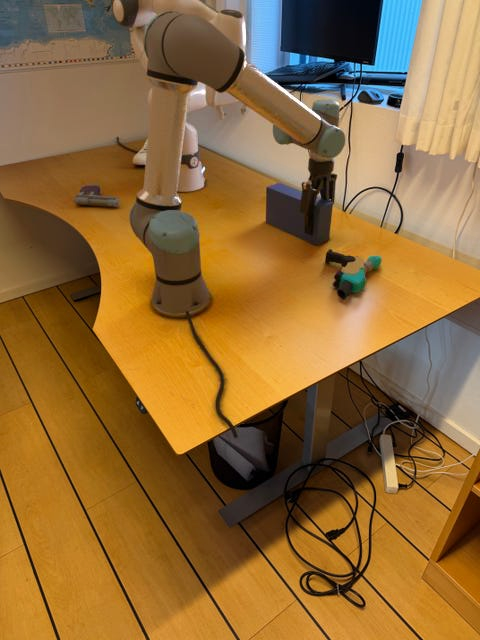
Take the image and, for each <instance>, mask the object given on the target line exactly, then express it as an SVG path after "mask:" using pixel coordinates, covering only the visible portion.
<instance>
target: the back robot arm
mask: <svg viewBox="0 0 480 640" xmlns="http://www.w3.org/2000/svg"><path fill="white" fill-rule="evenodd" d="M111 6H112V7H111V8H112V9H111V10H112V14H113V17H114V19H115V21H116V22H117V23H118V25H120V26H121V27H125V28H134V29H133V30H132V32H131V34H130V44H131V46H132V49H133V51H134V53H135V56H136V58H137V59H138V62H139V63H140V65H141V66H142V67H143V69H144V71H145V72H146V73H147V65H148V58H147V56H146V54H145V51H144V46H143V36H144V31H145V29H146V26H147V25H148V23H149V22H150V20H151V19H152V18H154V17H155V16H156V15H158V14H160V13H164V12H169V11H174V12H179V13H184V14H193V15H197V16H200V17H202V18H204V19H205V20H207V21H208V22H210V23H211V24H212V25H214V26H215V27H216V28H217V29H218V30H220V31H221V32H222V33H223V34H224V35H225V36H227V37H228V38H229V39H230V40H231V41H232V42H234V43H235V44H236V45H237V46H238V47H240V48H241V49H242V50H243V51H244V53H245V54H246V49H247V46H248V43H249V31H248V28H247V26H246V20H245V16H244V14H243V13H242V12H241V11H238V10H236V9H229V8H227V9H221V10H219V11H218V10H217V9H215V8H214V7H212V6H210V5H209V4H207V3H205V2H203V1H201V0H112V3H111ZM245 59H246V60H247V56H246V55H245ZM151 98H152V88H150V89H149V91H148V94H147V105H148V108H149V110H150V109H151ZM235 103H241V102H240V101H239V100H237V99H236V98H234V97H233V96H232V95H230V94H229V93H227V92H224V93H218V92H217V91H216V90H214V89H213V88H211V87H209V86H207V85H205V84H203V83H201V82H198V84H197V87H196V88H195V89H194V90H192V91H191V92H190V94H189V102H188V110H187V113H191V112H192V113H193V112H197V111H199V110H201V109H203V108H205V107H207V106H209V107H212V108H213V107H215V109H216V111H217V113H218V118H219V120H225V119H227V112H226V113H225V112H224V111H223V109H224V106H225V105H230V104H235ZM248 109H249V107H248V106H246V105H245V104H243V105H242V108H240V115H243V116H244V115H248ZM198 141H199V140H198V130H197V129H196V128H195V126H194V125H193V124H191V123H189V122H187V121H186V126H185V134H184V142H183V150H182V157H181V165H180V173H179V181H178V189H177V192H180V193H181V192H182V193H186V192H187V193H188V192H194V191H198V190H200V189H203V188H204V187H205V182H206V178H205V177H204V172H205V169H206V168H205V166H202V162H201V161H200V160H201V153H200V149H199V142H198ZM116 142H117V144H118V145H120V146H121V147H122V148H125V149H126V150H129V151H130V152H134V153H136V154H137V153H138V152H139V151H138V150H135V149H133V148H130V147H128V146H125V145H124V144H123V143H121V142H120V141H119V136H116Z"/></svg>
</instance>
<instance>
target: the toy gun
mask: <svg viewBox="0 0 480 640" xmlns="http://www.w3.org/2000/svg"><path fill="white" fill-rule="evenodd" d="M73 203H75V204H76V205H80V206H81V205H82V206H83V205H84V206H93V207H95V206H96V207H107V208H108V207H109V208H118V205H119V203H120V198H117V197H113V196H109V195H108V196H107V195H106V196H105V195H102V196H101V187H100V185H99V184H86V185H84V186H81V188H80V190H79V193H77V194H76V195H75V198H74V200H73Z"/></svg>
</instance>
